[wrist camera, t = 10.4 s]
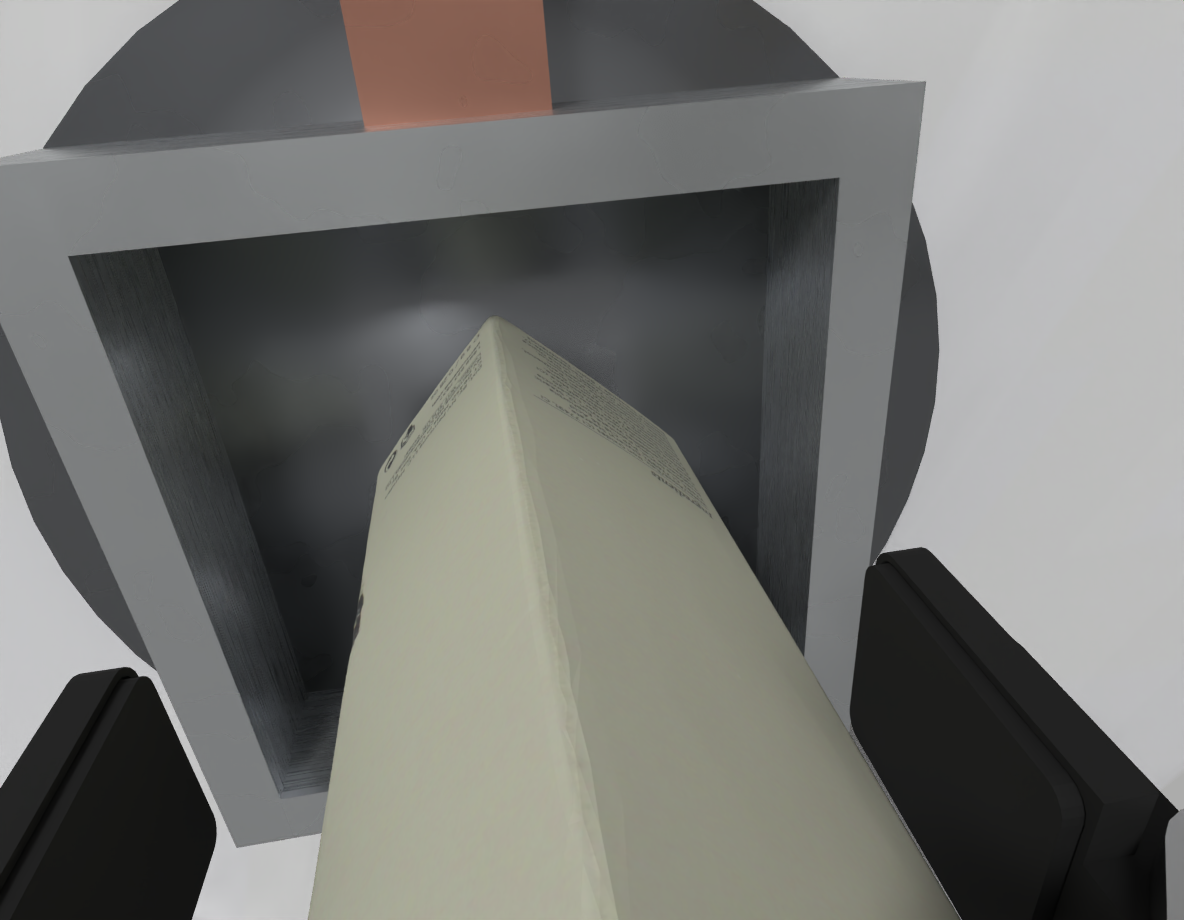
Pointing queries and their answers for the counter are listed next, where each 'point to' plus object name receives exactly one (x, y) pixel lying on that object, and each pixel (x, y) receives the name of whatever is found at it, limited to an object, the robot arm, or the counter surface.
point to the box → (583, 687)
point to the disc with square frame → (444, 315)
